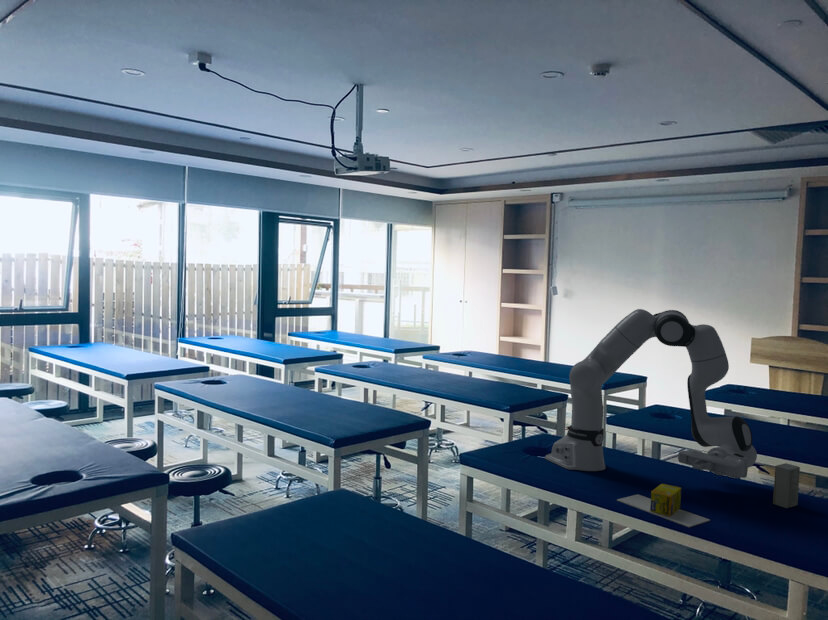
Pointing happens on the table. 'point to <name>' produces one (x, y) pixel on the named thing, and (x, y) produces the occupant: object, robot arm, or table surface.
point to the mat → (677, 517)
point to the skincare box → (786, 485)
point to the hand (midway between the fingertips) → (696, 466)
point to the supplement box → (666, 499)
